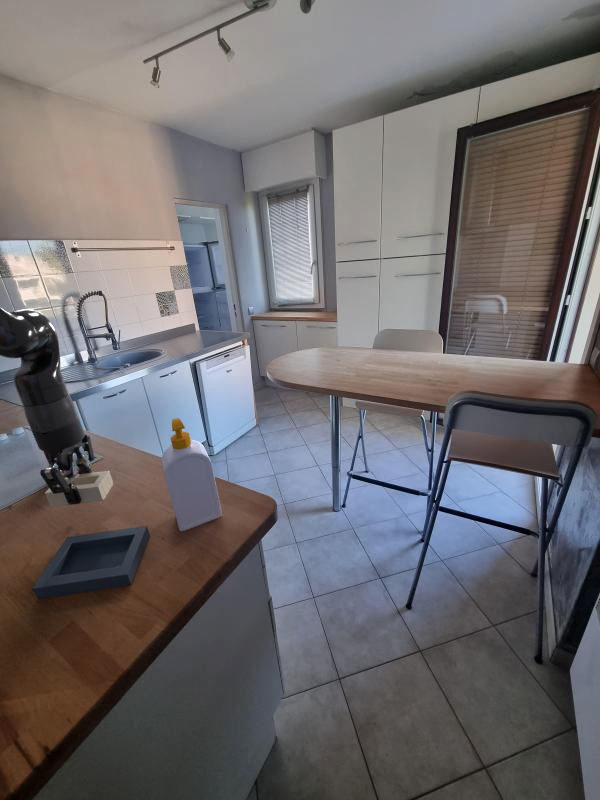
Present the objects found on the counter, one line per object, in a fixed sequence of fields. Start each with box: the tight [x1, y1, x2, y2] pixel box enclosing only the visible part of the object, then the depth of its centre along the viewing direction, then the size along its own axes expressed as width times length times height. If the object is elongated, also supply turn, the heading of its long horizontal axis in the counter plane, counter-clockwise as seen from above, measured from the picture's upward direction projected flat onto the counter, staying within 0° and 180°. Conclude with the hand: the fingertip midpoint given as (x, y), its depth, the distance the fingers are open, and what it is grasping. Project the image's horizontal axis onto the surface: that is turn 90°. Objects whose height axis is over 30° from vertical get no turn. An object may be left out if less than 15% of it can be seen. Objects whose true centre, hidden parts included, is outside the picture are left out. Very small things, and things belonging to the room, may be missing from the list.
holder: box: [32, 525, 151, 600], centre depth 62 cm, size 16×12×3 cm
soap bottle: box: [161, 417, 223, 532], centre depth 69 cm, size 9×7×23 cm
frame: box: [44, 470, 114, 508], centre depth 69 cm, size 10×6×4 cm, turn 97°
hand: (82, 493), depth 69 cm, fingers closed on frame, 5 cm apart
